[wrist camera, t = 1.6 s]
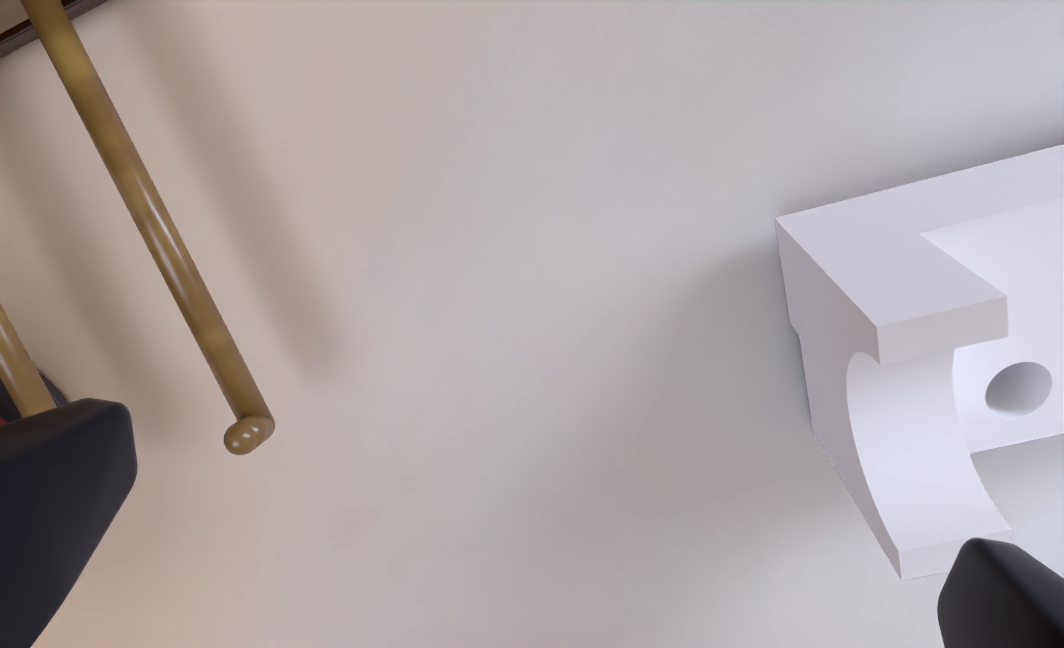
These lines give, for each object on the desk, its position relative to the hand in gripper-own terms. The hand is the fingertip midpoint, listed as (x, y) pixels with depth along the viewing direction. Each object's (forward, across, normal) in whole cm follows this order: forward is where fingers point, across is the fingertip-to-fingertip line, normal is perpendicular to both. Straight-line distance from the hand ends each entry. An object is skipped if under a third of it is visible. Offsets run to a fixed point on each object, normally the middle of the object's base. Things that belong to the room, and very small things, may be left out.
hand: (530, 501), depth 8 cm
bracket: (+17, -13, +3) cm, 22 cm away
